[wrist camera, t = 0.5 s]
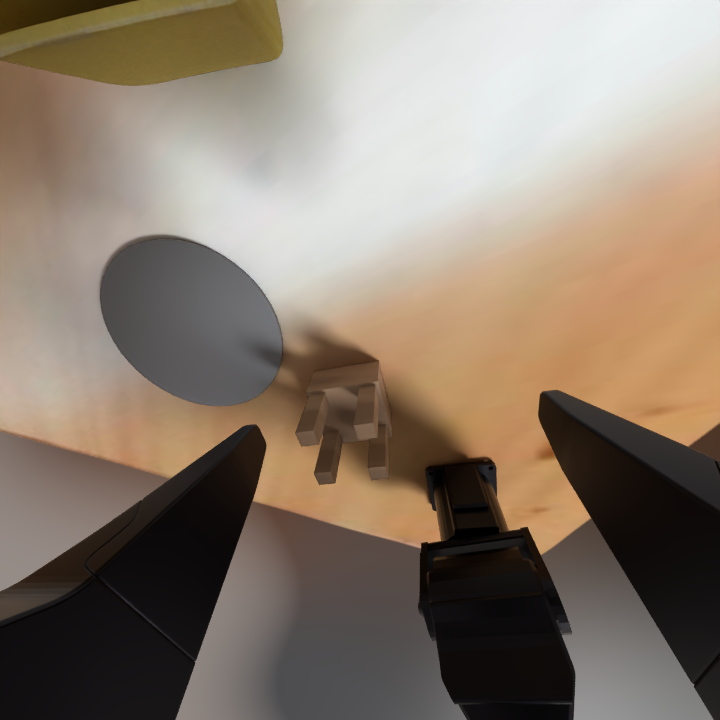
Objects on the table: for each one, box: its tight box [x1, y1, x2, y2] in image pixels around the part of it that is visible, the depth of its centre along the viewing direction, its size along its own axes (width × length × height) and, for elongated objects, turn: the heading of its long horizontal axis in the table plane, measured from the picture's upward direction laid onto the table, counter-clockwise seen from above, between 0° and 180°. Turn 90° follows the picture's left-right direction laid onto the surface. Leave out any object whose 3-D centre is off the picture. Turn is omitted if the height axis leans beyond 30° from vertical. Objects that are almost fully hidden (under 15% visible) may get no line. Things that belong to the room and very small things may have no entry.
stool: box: [295, 361, 392, 485], centre depth 22 cm, size 6×6×7 cm
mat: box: [100, 239, 283, 406], centre depth 23 cm, size 14×14×1 cm
